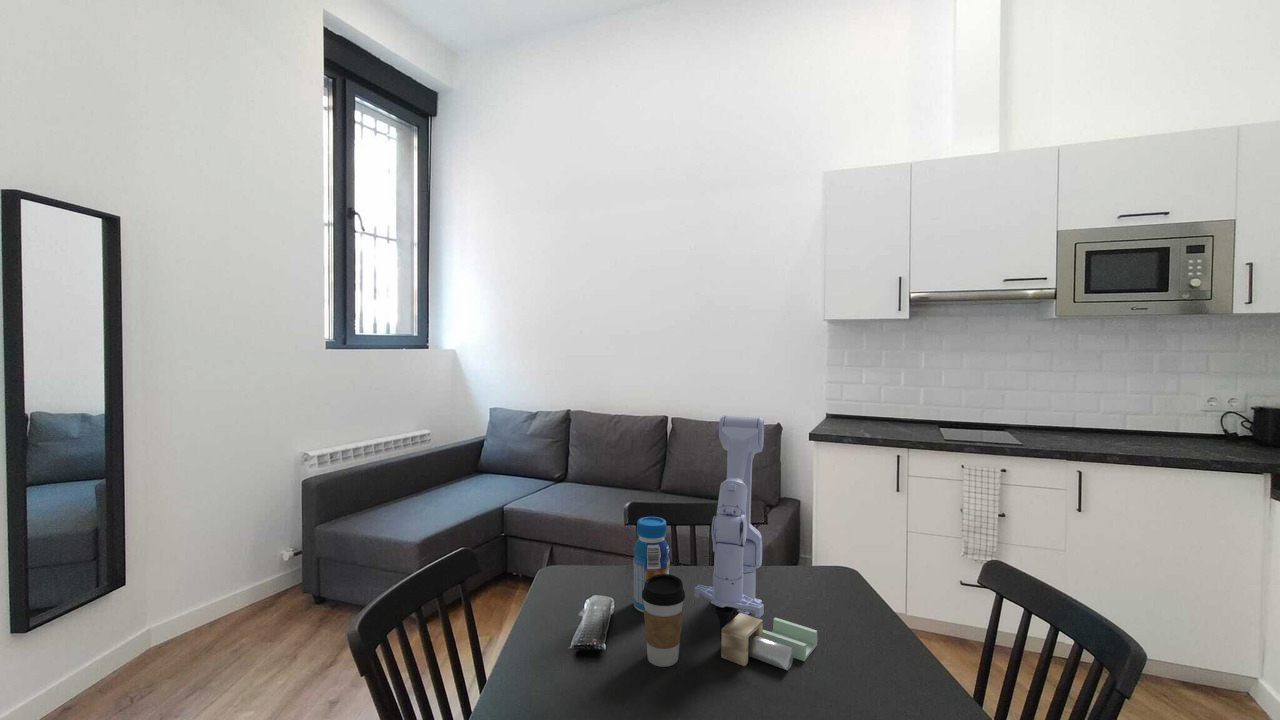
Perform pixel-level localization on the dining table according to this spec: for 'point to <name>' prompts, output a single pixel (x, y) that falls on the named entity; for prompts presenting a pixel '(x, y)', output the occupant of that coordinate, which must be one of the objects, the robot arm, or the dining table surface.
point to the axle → (770, 652)
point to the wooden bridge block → (739, 637)
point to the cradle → (793, 637)
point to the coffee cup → (663, 618)
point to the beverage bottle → (649, 555)
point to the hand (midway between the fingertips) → (727, 640)
